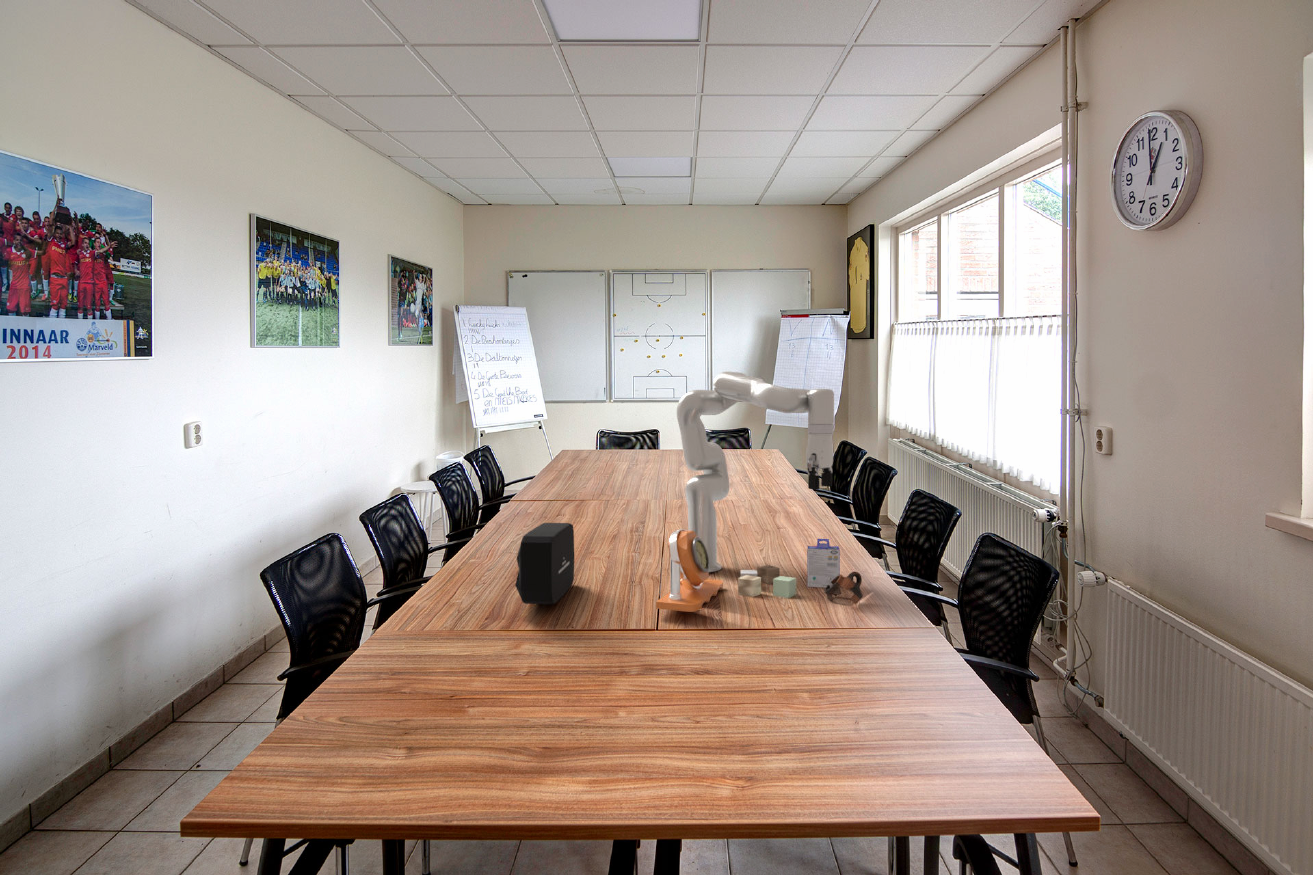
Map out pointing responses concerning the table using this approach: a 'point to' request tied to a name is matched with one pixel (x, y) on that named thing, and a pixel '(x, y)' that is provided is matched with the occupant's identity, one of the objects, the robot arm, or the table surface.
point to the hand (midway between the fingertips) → (820, 487)
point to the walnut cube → (768, 573)
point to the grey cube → (749, 573)
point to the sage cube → (784, 586)
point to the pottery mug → (845, 586)
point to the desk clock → (688, 574)
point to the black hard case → (546, 563)
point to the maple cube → (749, 586)
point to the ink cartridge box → (822, 564)
